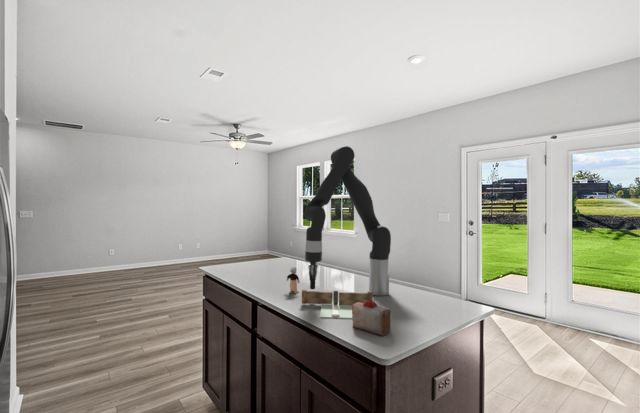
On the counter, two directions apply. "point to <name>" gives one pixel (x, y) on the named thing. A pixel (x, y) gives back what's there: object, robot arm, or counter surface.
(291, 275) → the grandmother figurine
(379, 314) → the food item
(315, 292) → the hinged fence panel
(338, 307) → the card
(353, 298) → the fixed fence section
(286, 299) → the counter surface
